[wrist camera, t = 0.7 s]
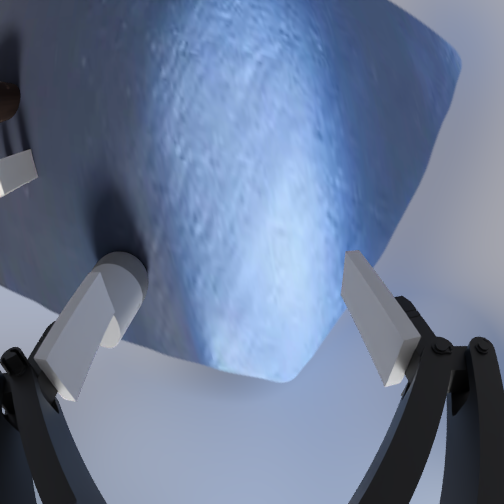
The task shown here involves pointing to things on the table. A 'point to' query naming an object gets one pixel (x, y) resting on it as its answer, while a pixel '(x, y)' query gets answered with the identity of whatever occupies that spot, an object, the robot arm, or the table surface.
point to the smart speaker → (122, 291)
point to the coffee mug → (8, 100)
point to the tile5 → (16, 171)
